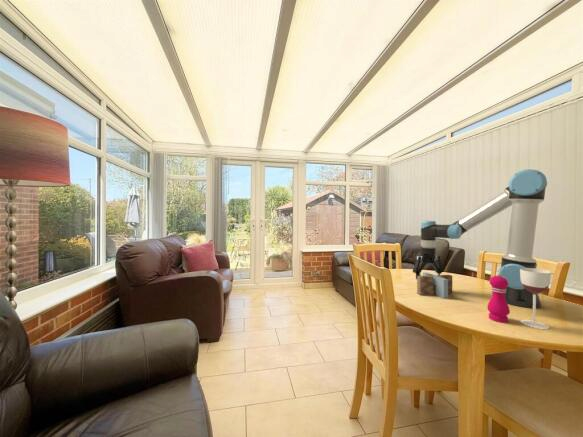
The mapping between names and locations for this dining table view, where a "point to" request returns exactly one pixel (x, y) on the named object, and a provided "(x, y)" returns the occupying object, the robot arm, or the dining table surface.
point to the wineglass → (535, 289)
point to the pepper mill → (498, 299)
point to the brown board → (431, 284)
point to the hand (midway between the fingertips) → (427, 284)
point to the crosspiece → (439, 285)
